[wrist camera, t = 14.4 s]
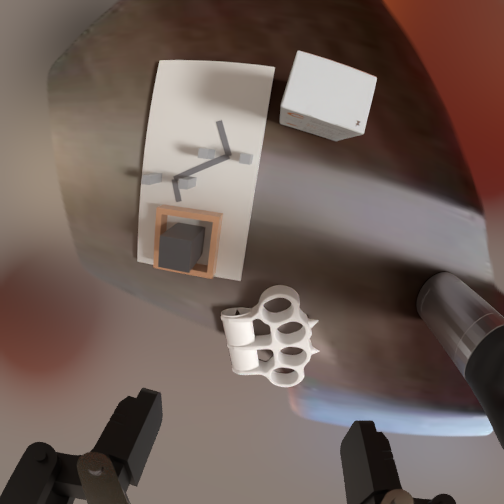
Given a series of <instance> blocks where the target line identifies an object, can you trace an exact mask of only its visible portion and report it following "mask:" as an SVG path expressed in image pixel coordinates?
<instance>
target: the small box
mask: <svg viewBox="0 0 504 504" xmlns="http://www.w3.org/2000/svg"><path fill="white" fill-rule="evenodd" d="M376 81H377V77H375V76H373V75H370V74H368V73H365V72H363V71H360V70H358V69H355V68H352V67H350V66H347V65H344V64H341V63H338V62H335V61H332V60H330V59H326V58H323V57H320V56H317V55H313V54H310V53H306V52H303V51H299V50H298V51H297V53H296V57H295V60H294V63H293V66H292V69H291V72H290V76H289V79H288V82H287V85H286V89H285V92H284V95H283V98H282V102H281V105H280V106H281V110H280V124H282V125H285V126H289V127H292V128H295V129H299V130H302V131H305V132H308V133H312V134H315V135H318V136H321V137H324V138H327V139H330V140H334V141H338V140H342V139H346V138H350V137H354V136H358V135H362V134H364V130H365V126H366V122H367V118H368V114H369V110H370V106H371V102H372V97H373V93H374V89H375V85H376Z"/></svg>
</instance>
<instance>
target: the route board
mask: <svg viewBox="0 0 504 504" xmlns="http://www.w3.org/2000/svg"><path fill="white" fill-rule="evenodd" d="M274 71H275V67H269V66H262V65H253V64H244V63H233V62H219V61H197V60H160V61H159V66H158V70H157V75H156V80H155V86H154V91H153V97H152V102H151V108H150V115H149V121H148V128H147V135H146V143H145V151H144V160H143V169H142V180H141V192H140V206H139V224H138V252H137V262H142V263H147V264H152V265H153V261H154V239H155V222H156V208H157V207H159V206H161V205H163V204H164V205H171V206H178V207H185V208H192V209H199V210H205V211H212V212H218V213H223V218H222V225H221V233H220V241H219V249H218V257H217V265H216V273H215V275H214V276H215V277H220V278H226V279H231V280H237V281H241V277H242V271H243V264H244V258H245V251H246V245H247V238H248V232H249V226H250V219H251V213H252V207H253V200H254V194H255V188H256V181H257V175H258V169H259V163H260V156H261V150H262V144H263V138H264V132H265V126H266V119H267V113H268V107H269V101H270V95H271V89H272V83H273V77H274ZM178 222H179V223H185V224H191V225H197V226H203V227H205V236H204V244H203V253H202V255H201V257H200V258H199V260H198V261H197V262H196V263H197V264H203V265H208V259H209V250H210V241H211V233H212V225H213V222H209V221H202V220H196V219H190V218H183V217H177V216H170V215H168V216H167V229H166V231H167V230H168V229H170V228H171V227H172V226H174V225H175V224H176V223H178Z"/></svg>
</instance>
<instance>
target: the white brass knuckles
mask: <svg viewBox="0 0 504 504" xmlns="http://www.w3.org/2000/svg"><path fill="white" fill-rule="evenodd" d="M275 298H285V299H287V300H289V301H290V302H291V303H292V304H291V306H290V307H289V308H288V309H286V310H284V311H281V312H278V313H273V312H269V311H268V310H266V309H265V307H264V304H265V303H266V302H268V301H270V300H272V299H275ZM236 310H238V311H239V313H240V315H236V316H235V314H236ZM255 319H260V320H262V321H263V322H264V323H266V324H268V325H269V326H270V331H271V333H270V334H269V335H258V336H255V335H254V329H253V323H252V321H253V320H255ZM221 320H222V321H223V326H224V331H225V336H226V340H227V347H228V350H229V354H230V358H231V363H232V371H233V372H234V373H236V374H239V375H257V374H261V375H263V376H265V377H267V378H268V380H269V381H270V382H271V383H273V384H274V385H276V386H280V387H290V386H294V385H296V384H298V383H300V382H301V381H302V380H303V378H304V366H305V365H306V364H307V363H308V362H309V361H310V358H311V354H314V353H317V352H319V350H317V349H316V348H314V347H313V346H312V345H311V340H310V337H311V335H312V331H311V328H312V327H313V326H314V325H315V324H316V323H317V322H318V321H319V320H314V319H308V317H307V315H306V314H305V313H304V312H303V311H302V310H301V309H300V299H299V295H298V293H297V292H296V291H295V290H294V289H292V288H291V287H288V286H285V285H275V286H272V287H270V288H268V289H266V290H265V291H264V292H263V293H262V295H261V296H260V299H259V303H258V304H257V305H255V306H254V307H253V308H244V307H239V308H229V309H226V310H223V311H222V312H221ZM288 322H298V323H300V324H302V325H303V326H302V328H301V329H300V330H298V331H296V332H293V333H290V334H284V333H281V332H279V331H278V330H277V328H278V327H279V326H280V325H282V324H285V323H288ZM285 347H298V348H301V349H303V351H302V352H301V353H300V354H297V355H288V354H284V353H282V352H280V350H281V349H283V348H285ZM262 349H270V350H272V351H273V355H274V356H273V357H270V358H269V360H267V361H264V360H261V359H258V355H257V350H262ZM281 367H284V368H291V369H294V370H295V371H293V372H291V373H288V374H284V373H280V372H278V371H275V369H277V368H281Z"/></svg>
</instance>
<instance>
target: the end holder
mask: <svg viewBox="0 0 504 504" xmlns="http://www.w3.org/2000/svg"><path fill="white" fill-rule="evenodd" d="M168 215H170V216H177V217H183V218H190V219H196V220H202V221H209V222H213V225H212V233H211V241H210V250H209V259H208V265H203V264H197V263H196V264H195V265H194V267H193V268H192V270H191V271H190V272H189V273H186V272H181V271H176V270H171V269H166V268H161V267H158V259H159V241H160V235H161V234H163V233H164V232H165V231H166V229H167V216H168ZM222 218H223V213H218V212H212V211H205V210H199V209H192V208H185V207H178V206H171V205H164V204H163V205H161V206H159V207H157V208H156V222H155V239H154V261H153V268H157V269H162V270H167V271H172V272H178V273H183V274H188V275H193V276H198V277H204V278H209V279H213V277H214V275H215V273H216V265H217V257H218V249H219V241H220V233H221V225H222Z"/></svg>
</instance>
